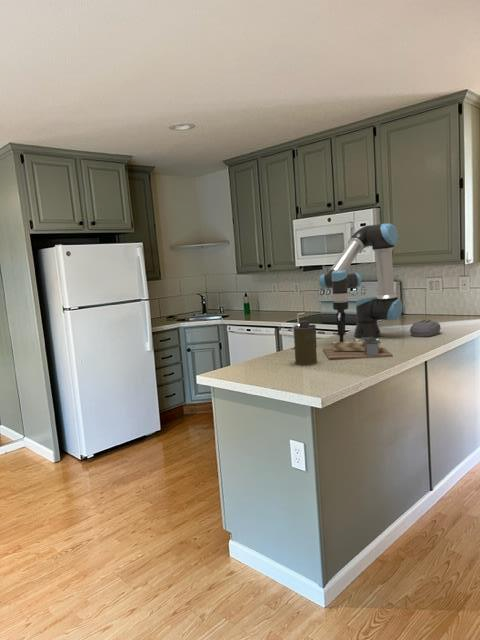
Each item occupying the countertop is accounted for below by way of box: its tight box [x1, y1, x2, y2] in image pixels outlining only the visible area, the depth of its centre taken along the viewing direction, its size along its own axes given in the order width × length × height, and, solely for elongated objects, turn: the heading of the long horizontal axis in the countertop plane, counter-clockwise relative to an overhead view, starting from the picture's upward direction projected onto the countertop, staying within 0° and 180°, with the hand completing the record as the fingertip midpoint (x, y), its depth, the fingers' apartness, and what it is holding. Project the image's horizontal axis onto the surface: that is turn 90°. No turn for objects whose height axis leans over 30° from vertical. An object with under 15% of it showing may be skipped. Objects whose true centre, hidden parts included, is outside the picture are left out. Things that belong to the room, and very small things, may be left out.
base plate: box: [322, 347, 394, 361], centre depth 240 cm, size 24×30×1 cm
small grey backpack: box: [409, 319, 441, 338], centre depth 279 cm, size 15×8×20 cm
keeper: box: [360, 337, 379, 356], centre depth 234 cm, size 12×6×7 cm, turn 178°
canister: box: [292, 320, 318, 366], centre depth 226 cm, size 11×10×20 cm
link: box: [332, 341, 384, 352], centre depth 240 cm, size 24×5×4 cm, turn 64°
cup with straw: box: [290, 312, 307, 336], centre depth 263 cm, size 8×9×20 cm
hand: (342, 347), depth 246 cm, fingers closed
